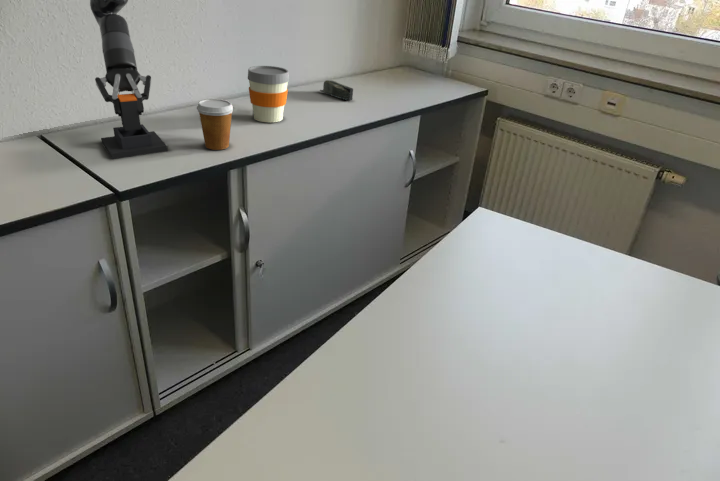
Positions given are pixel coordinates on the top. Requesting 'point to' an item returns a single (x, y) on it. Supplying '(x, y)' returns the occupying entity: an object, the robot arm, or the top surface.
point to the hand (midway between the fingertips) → (129, 114)
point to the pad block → (129, 112)
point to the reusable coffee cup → (268, 92)
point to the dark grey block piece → (337, 90)
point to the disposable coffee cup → (215, 122)
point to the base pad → (132, 143)
